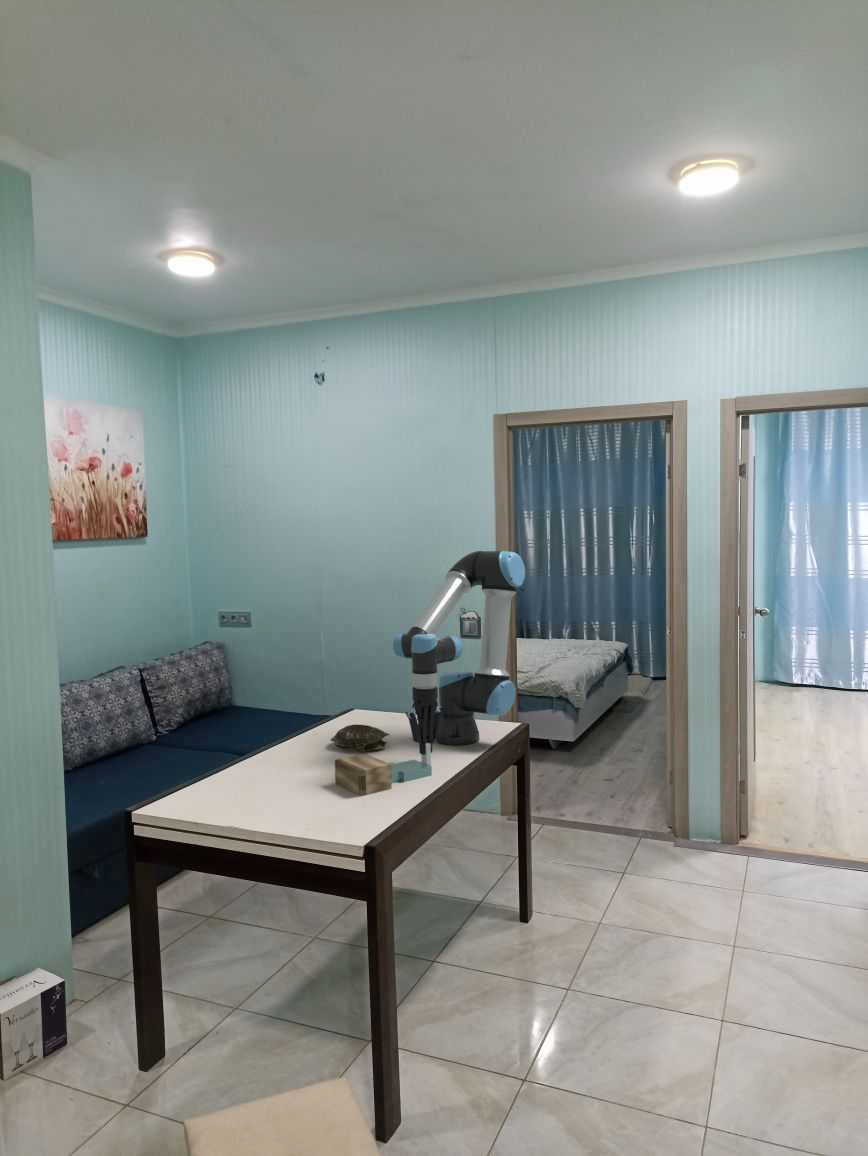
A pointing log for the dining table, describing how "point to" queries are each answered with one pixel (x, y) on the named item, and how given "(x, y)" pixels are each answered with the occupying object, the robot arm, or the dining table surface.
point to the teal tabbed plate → (409, 771)
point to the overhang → (363, 774)
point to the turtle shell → (360, 738)
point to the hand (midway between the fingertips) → (426, 764)
